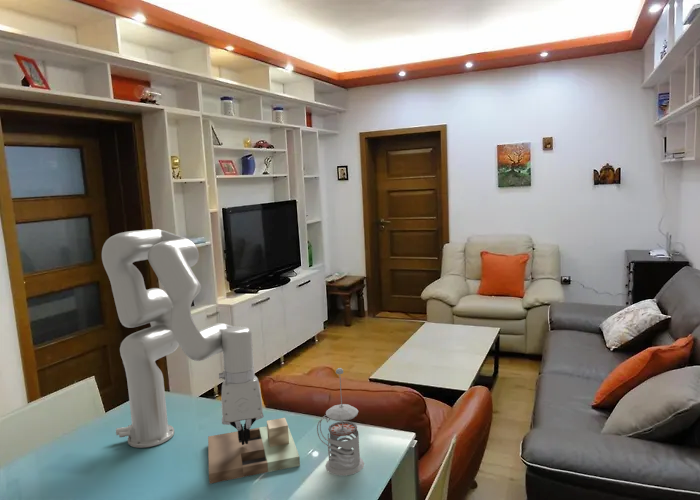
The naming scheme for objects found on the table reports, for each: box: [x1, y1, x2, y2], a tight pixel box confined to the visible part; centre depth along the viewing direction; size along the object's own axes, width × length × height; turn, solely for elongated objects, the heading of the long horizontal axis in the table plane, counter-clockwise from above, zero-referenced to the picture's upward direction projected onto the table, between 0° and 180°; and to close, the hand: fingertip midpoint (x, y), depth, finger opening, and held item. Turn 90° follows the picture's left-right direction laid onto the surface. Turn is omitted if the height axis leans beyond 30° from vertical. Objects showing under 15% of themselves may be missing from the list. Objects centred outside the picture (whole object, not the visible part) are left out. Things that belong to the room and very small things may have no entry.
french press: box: [316, 367, 365, 477], centre depth 125 cm, size 10×12×25 cm
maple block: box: [266, 417, 289, 447], centre depth 135 cm, size 5×5×5 cm
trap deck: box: [207, 425, 301, 485], centre depth 133 cm, size 22×20×2 cm
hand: (244, 441), depth 132 cm, fingers closed
